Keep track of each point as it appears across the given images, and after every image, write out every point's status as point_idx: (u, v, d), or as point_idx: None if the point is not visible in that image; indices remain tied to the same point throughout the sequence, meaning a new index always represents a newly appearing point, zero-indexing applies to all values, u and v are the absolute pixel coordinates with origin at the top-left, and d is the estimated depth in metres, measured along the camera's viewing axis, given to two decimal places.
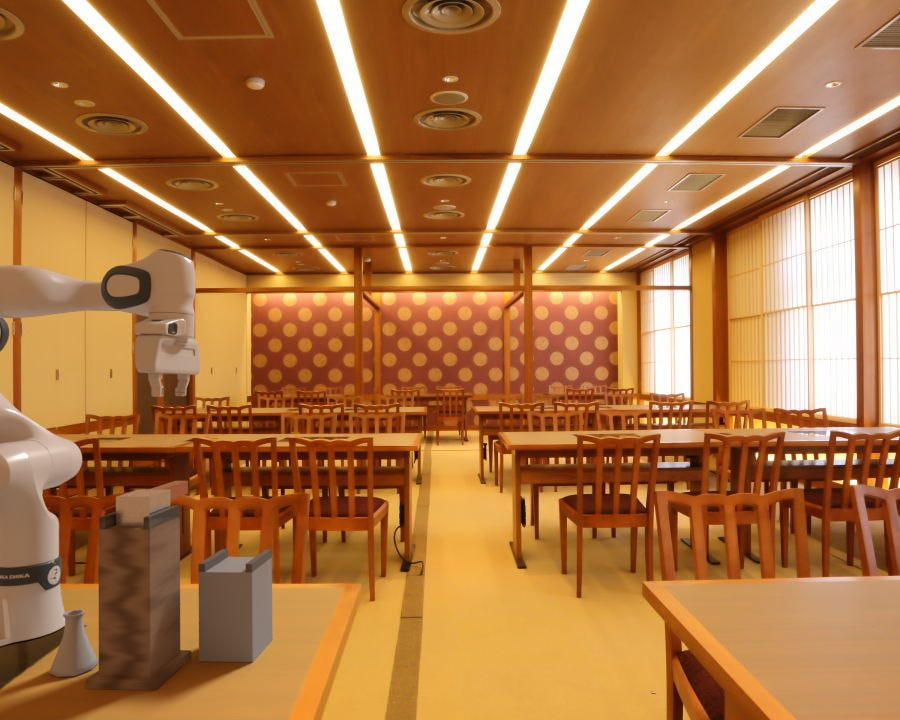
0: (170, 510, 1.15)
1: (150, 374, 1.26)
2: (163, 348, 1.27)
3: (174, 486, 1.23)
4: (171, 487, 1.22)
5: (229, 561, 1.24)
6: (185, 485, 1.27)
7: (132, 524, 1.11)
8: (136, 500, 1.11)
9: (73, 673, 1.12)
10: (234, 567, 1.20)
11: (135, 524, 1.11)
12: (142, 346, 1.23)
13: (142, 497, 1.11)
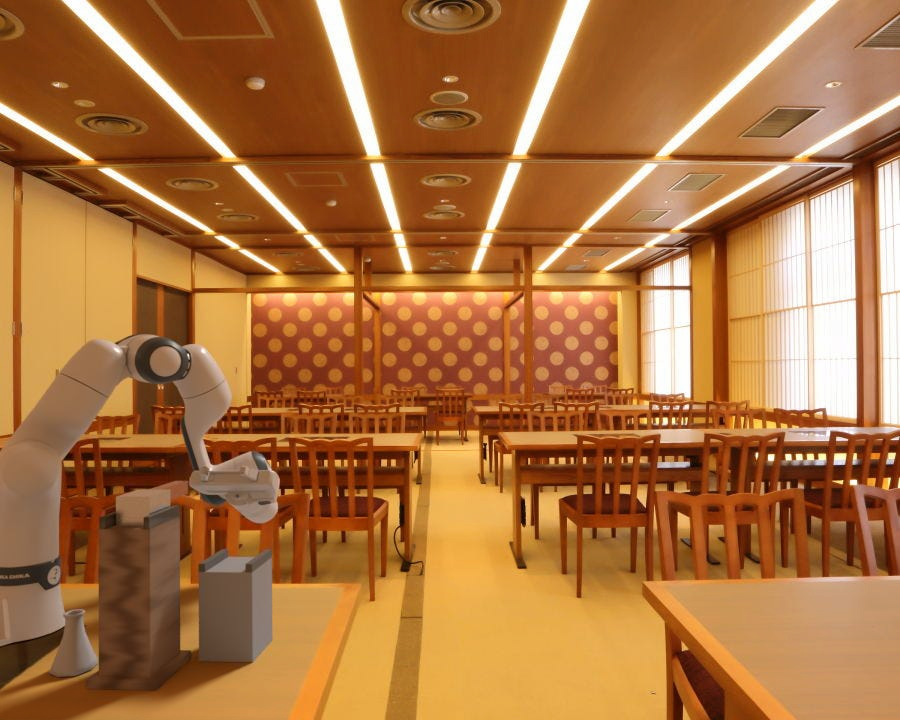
0: (170, 510, 1.15)
1: (257, 473, 1.50)
2: (260, 490, 1.53)
3: (174, 486, 1.23)
4: (171, 487, 1.22)
5: (229, 561, 1.24)
6: (185, 485, 1.27)
7: (132, 524, 1.11)
8: (136, 500, 1.11)
9: (73, 673, 1.12)
10: (234, 567, 1.20)
11: (135, 524, 1.11)
12: (277, 481, 1.54)
13: (142, 497, 1.11)
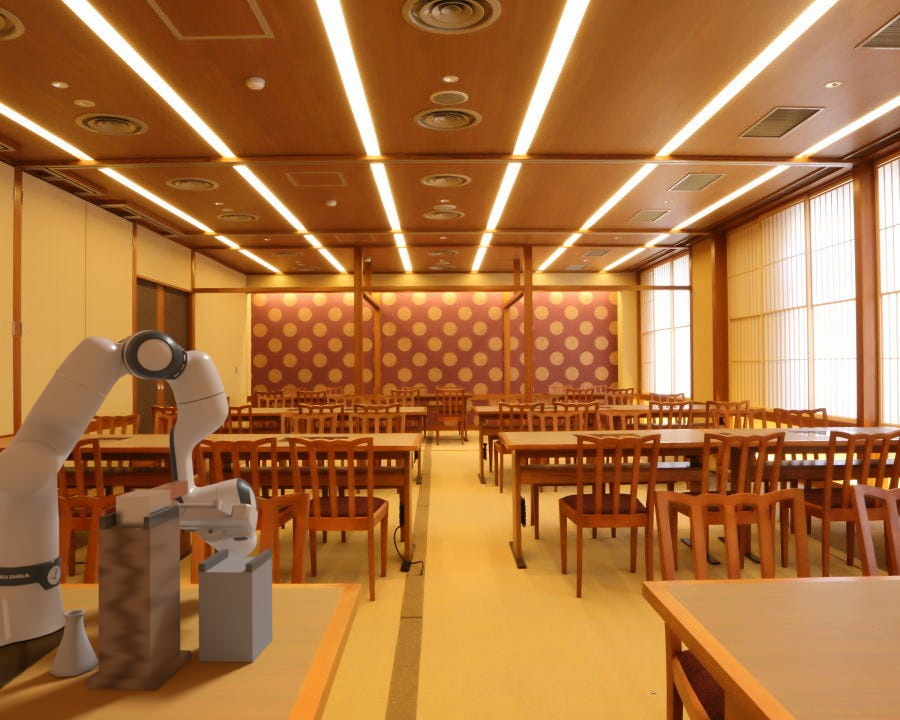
0: (170, 510, 1.15)
1: (232, 508, 1.36)
2: (236, 525, 1.39)
3: (174, 486, 1.23)
4: (171, 487, 1.22)
5: (229, 561, 1.24)
6: (185, 485, 1.27)
7: (132, 524, 1.11)
8: (136, 500, 1.11)
9: (73, 673, 1.12)
10: (234, 567, 1.20)
11: (135, 524, 1.11)
12: (255, 515, 1.40)
13: (142, 497, 1.11)
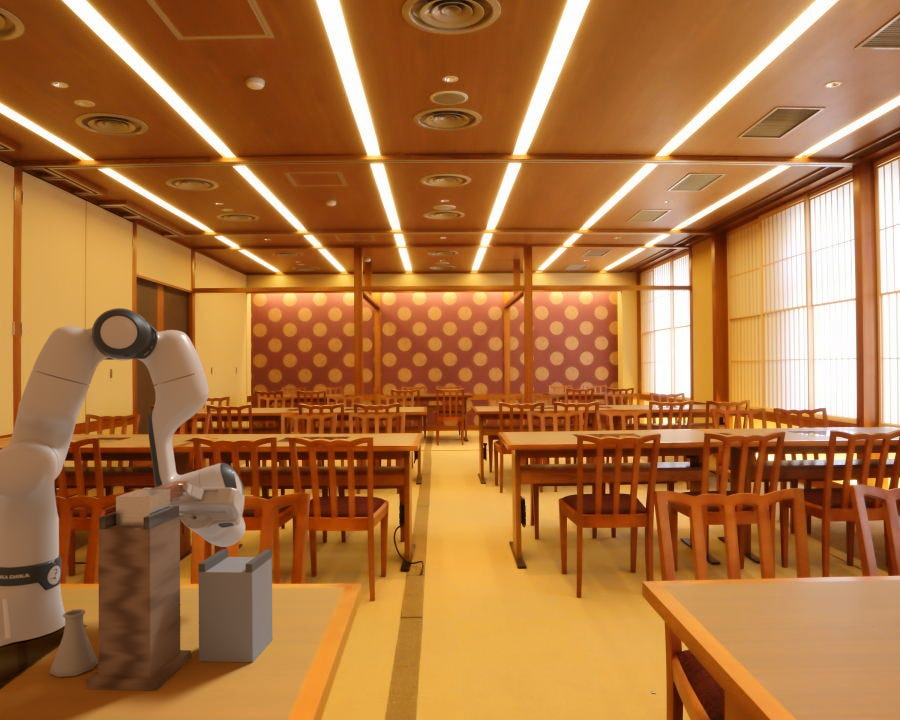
0: (170, 510, 1.15)
1: (203, 492, 1.29)
2: (221, 510, 1.32)
3: (174, 486, 1.23)
4: (171, 487, 1.22)
5: (229, 561, 1.24)
6: None
7: (132, 524, 1.11)
8: (136, 500, 1.11)
9: (73, 673, 1.12)
10: (234, 567, 1.20)
11: (135, 524, 1.11)
12: (241, 500, 1.33)
13: (142, 497, 1.11)
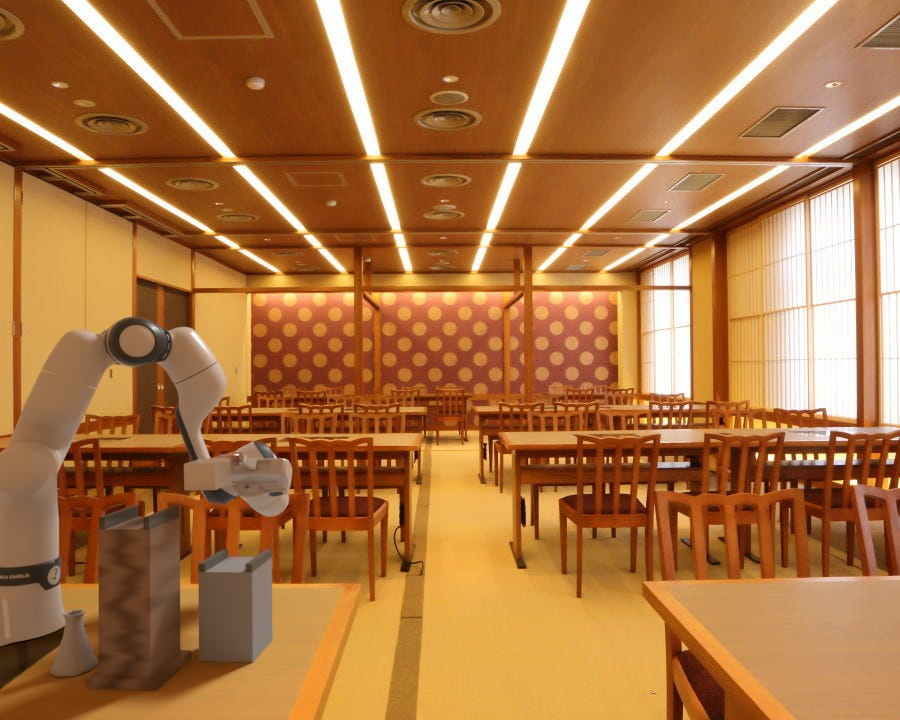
0: (170, 510, 1.15)
1: (256, 462, 1.39)
2: (272, 480, 1.42)
3: (232, 456, 1.32)
4: (229, 457, 1.31)
5: (229, 561, 1.24)
6: None
7: (199, 488, 1.21)
8: (203, 466, 1.21)
9: (73, 673, 1.12)
10: (234, 567, 1.20)
11: (202, 488, 1.21)
12: (290, 470, 1.43)
13: (208, 464, 1.21)
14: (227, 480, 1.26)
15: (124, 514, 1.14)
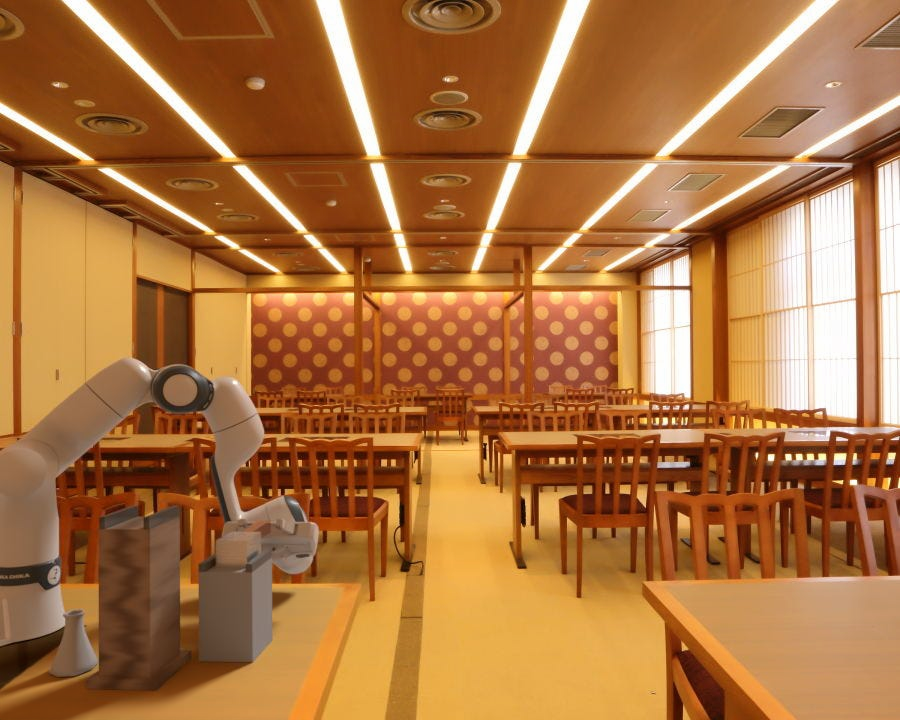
0: (170, 510, 1.15)
1: (294, 526, 1.37)
2: (299, 543, 1.41)
3: (261, 527, 1.31)
4: (259, 528, 1.30)
5: None
6: (269, 524, 1.36)
7: (231, 566, 1.20)
8: (235, 543, 1.20)
9: (73, 673, 1.12)
10: None
11: (234, 566, 1.20)
12: (317, 533, 1.42)
13: (240, 541, 1.20)
14: None
15: (124, 514, 1.14)
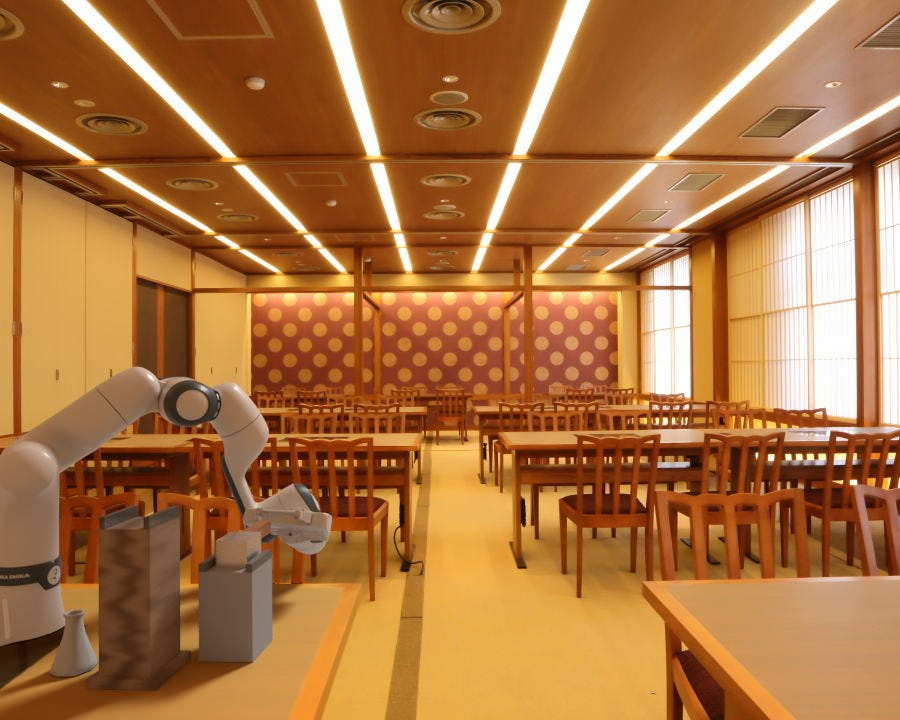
0: (170, 510, 1.15)
1: (311, 516, 1.48)
2: (313, 530, 1.52)
3: (261, 527, 1.31)
4: (259, 528, 1.30)
5: None
6: (269, 524, 1.36)
7: (231, 566, 1.20)
8: (235, 543, 1.20)
9: (73, 673, 1.12)
10: None
11: (234, 566, 1.20)
12: (330, 522, 1.52)
13: (240, 541, 1.20)
14: None
15: (124, 514, 1.14)
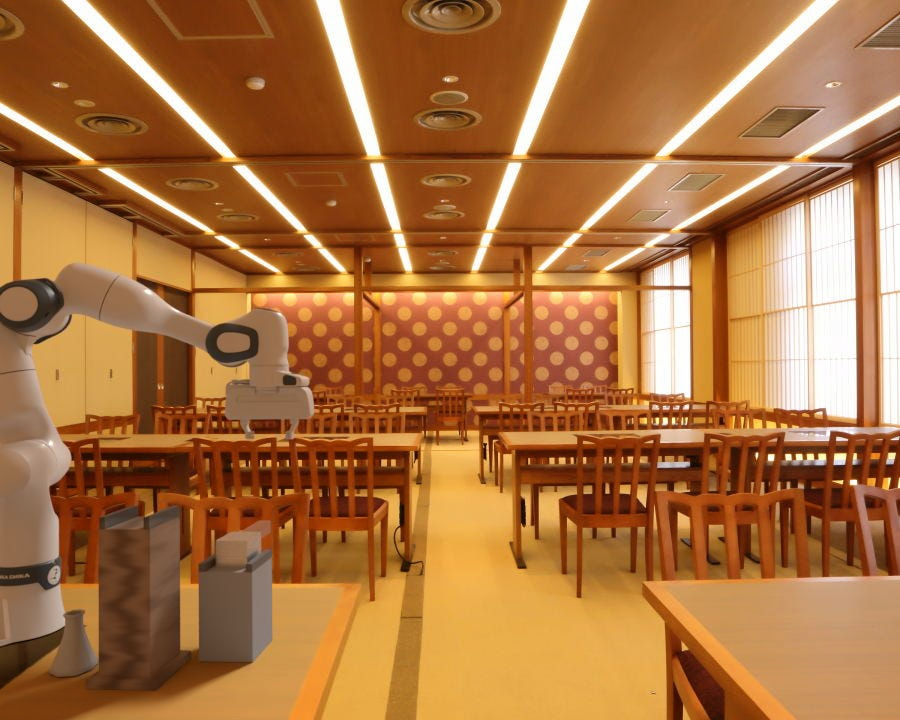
0: (170, 510, 1.15)
1: (296, 420, 1.48)
2: None
3: (261, 527, 1.31)
4: (259, 528, 1.30)
5: None
6: (269, 524, 1.36)
7: (231, 566, 1.20)
8: (235, 543, 1.20)
9: (73, 673, 1.12)
10: None
11: (234, 566, 1.20)
12: (309, 396, 1.47)
13: (240, 541, 1.20)
14: None
15: (124, 514, 1.14)
